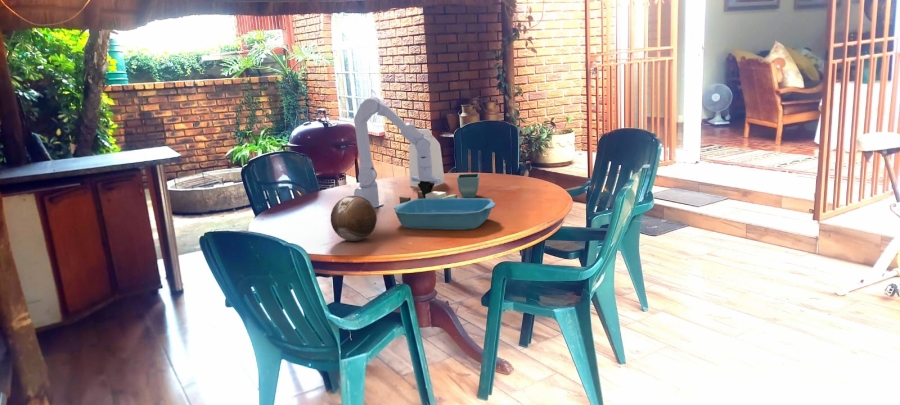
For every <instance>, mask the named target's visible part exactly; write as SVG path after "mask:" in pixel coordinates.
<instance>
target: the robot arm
mask: <svg viewBox="0 0 900 405" xmlns="http://www.w3.org/2000/svg"><path fill="white" fill-rule="evenodd" d="M375 114H376V115H377V116H381V117H385V118H386V119H387V120H388V121H390V122H391V123H393V124H394V126H396V128H397V129H399V130H400V135H402V137H404V138H405V140H407V141H408V142H409V143H410V144H411V143H412V144H413V145H415V148H416V150H417V164H418V176H413V177H411V178H412V181H417V182H420V183H419V184H418V186H419V187H418V188H419V189H420V191H422V194H423V197H424V198H426V195H425V194H428V193H431V192H433V188H434V187H433V186H434V184H435V183H436V184H440V183H441V179H440V178H436V177H434V176H433V174H432V161H431V154H430V153H431V151H430V149H429V148H430V145H431V142H430V140H429V139H428V137H427V136H424V133H421V132H420V131H418V130H417V129H418V128H417V127H416V126H417V125H416V124H414V123H413V124H412V123H411V122H409V123H407V122H405V121H404V120H403V119H402V118H401V117H400V116H399V115H397V114H396V112H395V111H394V110H392V108H391V107H389V106H388V105H387V104H386V103H385V102H383V101H381V100H380V99H379V98H378V97H375V96H371V97H369V98H366V99H365V100H364V101H362V102H361V103H360V104H359V107H358V109H357V112H356V114H355V115H354V118H353V119H354V120H353V121H354V128H355V138H356V146H357V152H358V159H359V164H358V166H359V168H358V169H359V170H358V172H359V173H358V176H357V180H358V183H359V185H358V186H359V187H356V188H355V189H354V192H353V196H360V197H363V198H365V199H367V200H368V201H369V202H370V203H371V204H372V205H373V207H374V209H375V208H378V207H381V206H384V205H385V204H384V203H380V200H379V199H380V198H379V187H378V183H377V181H376V179H377V176H378V173H377V170H376V169H375V167H374V163H373V160H372V153H371V145H370V144H371V143H370V136H369V130H368V128H369V127H368V121H369V120H370V119H371V118H372V116H373V115H375ZM420 133H421V134H420ZM440 185H441V184H440Z"/></svg>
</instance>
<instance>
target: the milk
mask: <svg viewBox="0 0 900 405" xmlns="http://www.w3.org/2000/svg"><path fill="white" fill-rule="evenodd" d="M416 129H417V130H418V131H420V132H421V133H424V136H427V137H428V139H429V140H430V142H431V145H430V148H429V149H430V151H431V153H430V154H431V161H432V174H433V176H434V177H436V178H440V179H441V183H440V184H436V183H435V184H434V186H433V188H434V187H435V188H436V187H437V186H439V185H442V184H445V182H446V181H445V174H444V165H443V157H442V150H441V144H440V142H439V141H438V140H437V138H435V136H434V135H433V134H432V132H431V130H430V128H416ZM421 133H420V134H421ZM408 161H409V162H408V164H409V165H408V167H409V170H408V171H409V187H412V188H415V187H416V188H419V186H418V184H419V183H420V182H417V181H412V178H411V177H413V176H418V164H417V150H416V148H415V145H413V144H412V143H410V144H409V146H408Z"/></svg>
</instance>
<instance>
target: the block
mask: <svg viewBox="0 0 900 405" xmlns="http://www.w3.org/2000/svg"><path fill="white" fill-rule="evenodd" d="M425 195H426V198H443V197H446V196H447V195H448V194H447V191H435V190H434V191H432V192H431V193H428V194H425Z"/></svg>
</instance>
